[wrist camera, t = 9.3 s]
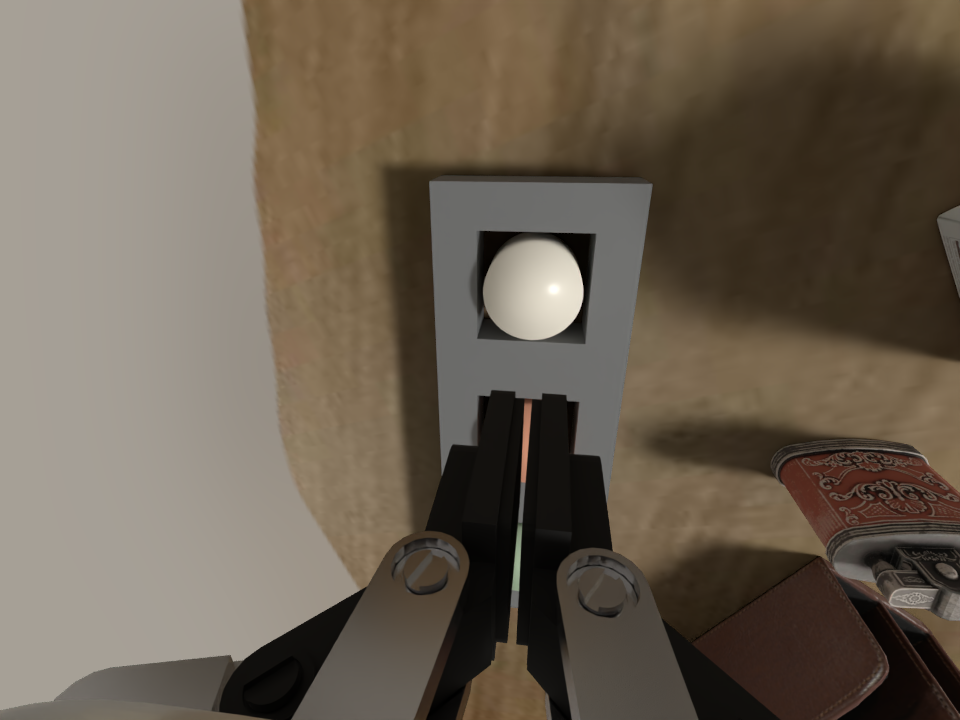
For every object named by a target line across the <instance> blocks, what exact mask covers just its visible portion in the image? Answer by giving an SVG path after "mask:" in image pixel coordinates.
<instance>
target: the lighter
mask: <svg viewBox="0 0 960 720" xmlns="http://www.w3.org/2000/svg"><path fill="white" fill-rule="evenodd" d="M771 470H772V472H773V474H774V476H775V477H776V479H777V480H778V482H779V483H780V484H781V485H782V486H784V487H786V488H787V490H788V491H789V493H790V494H791V496H792V497H793V499H794V500H795V502H796V503H797V505H798V506H799V508H800V509H801V511H802V513H803V514H804V516H805V517H806V519H807V520H808V522H809V523H810V525H811V526H812V528H813V529H814V531H815V532H816V534H817V535H818V537H819V538H820V540H821V542H822V543H823V545H824V546H825V548H826V555H827V557H828V559H829V561H830V562H831V564H832V566H833V567H834V569H835V570H836V572H838V573H839V574H840V575H841V576H844V577H847V578H850V579H856V580H862V581H868V582H874V583H876V585H877V587H878V588H879V590H880V591H881V592H882V594H883V595H884V597H885V598H886V599H887V601H888V602H889V604H890V605H891V606H894V607H901V608H924V609H926V610H928V611H931V612H932V613H934V614H935V615H937V616H939V617H940V618H943V619H946V620H950V621H960V493H959V492H958V491H957V490H955V489H954V488H953V487H952V486H951V485H950V484H949V483H948V482H947V481H945V480H944V479H943V478H942V477H941V476H940V475H939V474H938V473H936V472H935V471H934V470H933V469H932V468H931V467H930V466H929V463H928V460H927V459H926V458H925V457H924V456H923V455H922V454H921V453H920V452H918V451H917V450H916V449H915V448H914V447H913V446H910V445H907V444H901V443H894V442H887V441H880V440H861V439H840V440H823V441H814V442H807V443H800V444H794V445H789V446H786V447H783V448H782V449H780V450H778V451H777V452H776V454H775V455H774V456H773V458H772V460H771Z"/></svg>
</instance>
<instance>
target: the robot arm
mask: <svg viewBox="0 0 960 720" xmlns="http://www.w3.org/2000/svg"><path fill="white" fill-rule="evenodd" d="M524 400H525V399H524V398H516V392H515V391H501V390H491V393H490V398H489V402H488V407H487V411H486V416H485V420H484V424H483V429H482V433H481V438H480V442H479V446H470V445H457V444H453V445H452V446H451V449H450V451H449V455H448V458H447V461H446V464H445V468H444V471H443V474H442V477H441V481H440V484H439V487H438V490H437V494H436V497H435V500H434V504H433V507H432V510H431V513H430V517H429V520H428V523H427V526H426V530H425V531H424V532H417V533H414V534H411V535H409V536H406V537H404V538H402V539H401V540H399V541H398V542H397V543H395V544H394V545H393V546H392V547H391V548H390V550H389V551H388V552H387V553H386V555H385V557H384V558H383V560H382V562H381V564H380V565H379V567H378V569H377V571H376V572H375V574H374V576H373V578H372V579H371V581H370V583H369V585H368V586H367V587H365V588H364V589H362V590H360V591H358V592H357V593H355V594H353V595H351V596H350V597H348V598H346V599H344V600H343V601H341V602H339V603H338V604H336V605H334V606H332V607H331V608H329V609H327V610H325V611H324V612H322V613H320V614H318V615H317V616H315V617H313V618H311V619H310V620H308V621H306V622H304V623H303V624H301V625H299V626H298V627H296V628H294V629H292V630H291V631H289V632H287V633H286V634H284V635H282V636H280V637H278V638H277V639H275V640H273V641H271V642H270V643H268V644H266V645H264V646H263V647H261V648H260V649H258V650H257V651H255V652H254V653H253V654H251V655H250V656H249V657H247V658H246V659H245V660H244V661H234V662H233V661H232V658H231V655H227V656H218V657H207V658H199V659H188V660H179V661H169V662H161V663H150V664H141V665H132V666H122V667H113V668H108V669H104V670H100V671H97V672H93V673H91V674H89V675H88V676H86V677H84V678H82V679H80V680H78V681H76V682H75V683H73V684H72V685H71V686H70V687H69V688H67V689H66V690H65V691H64V692H62V693H61V694H60V695H59V696H58V697H56V699H55V700H54V701H51V702H42V703H34V704H29V705H24V706H19V707H14V708H9V709H5V710H0V720H462V719H463V715H464V712H465V708H466V705H467V701H468V698H469V695H470V691H471V683H472V679H473V678H474V677H476V676H477V675H478V674H479V673H481V672H482V671H483V670H485V669H486V668H487V667H488V666H490V665H491V660H493V661H494V658H495V649H496V642H503V643H507V640H508V629H509V618H510V607H511V596H512V585H513V574H514V562H515V551H516V540H517V529H518V518H519V507H520V493H521V470H522V448H523V425H524ZM516 644H518V645H526V646H528V655H527V670H528V671H529V672H530V674H531V675H532V676H533V677H534V678H535V680H536V681H537V682H538V683H539V684H540V686H541V687H542V688H543V689H544V690H545V706H546V714H547V720H780V719H779V718H778V717H777V716H776V715H775V714H773V713H772V712H771V711H770V710H769V709H768V708H766V707H765V706H764V705H763V704H762V703H760V702H759V701H758V700H757V699H756V698H755V697H753V696H752V695H751V694H750V693H749V692H748V691H746V690H745V689H744V688H743V687H742V686H741V685H739V684H738V683H737V682H736V681H735V680H733V679H732V678H731V677H730V676H729V675H728V674H726V673H725V672H724V671H723V670H722V669H721V668H719V667H718V666H717V665H716V664H715V663H713V662H712V661H711V660H710V659H709V658H708V657H706V656H705V655H704V654H703V653H702V652H701V651H699V650H698V649H697V648H696V647H695V646H693V645H692V644H691V643H690V642H689V641H688V640H686V639H685V638H684V637H683V636H682V635H681V634H679V633H678V632H677V631H676V630H675V629H673V628H672V627H671V626H670V625H669V624H668V623H666V622H665V621H664V620H663V619H662V618H661V616H660V614H659V611H658V608H657V606H656V603H655V600H654V597H653V595H652V592H651V589H650V586H649V584H648V582H647V580H646V578H645V577H644V575H643V573H642V571H641V570H640V569H639V568H638V567H637V566H636V565H635V564H634V563H633V562H632V561H630V560H629V559H627V558H625V557H624V556H622V555H621V554H619V553H616V552H613V549H612V542H611V534H610V526H609V518H608V510H607V503H606V495H605V487H604V479H603V471H602V464H601V458H600V456H594V455H581V454H569V445H568V419H567V395H562V394H547V393H542V400H541V399H532V408H531V420H530V433H529V445H528V458H527V470H526V483H525V495H524V508H523V521H522V537H521V558H520V579H519V600H518V621H517V642H516Z"/></svg>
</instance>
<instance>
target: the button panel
mask: <svg viewBox="0 0 960 720" xmlns="http://www.w3.org/2000/svg"><path fill="white" fill-rule="evenodd" d="M652 186H653V184H652V183H650V182H648V181H647V180H645V179H643V178H641V177H558V176H469V175H441V176H439V177H437V178H435V179H433V180H431V181H429V188H430V211H431V235H432V258H433V281H434V305H435V328H436V352H437V375H438V399H439V422H440V446H441V469H442V474H443V471H444V468H445V464H446V461H447V458H448V455H449V451H450V449H451V446H452V445H453V444H457V445H470V446H479V442H480V438H481V433H482V429H483V407H484V396H490V393H491V390H501V391H515V392H516V398H528V399H542V393H547V394H562V395H567V401H574V410H573V421H572V431H571V442H570V452H569V454H581V455H594V456H600V458H601V464H602V471H603V479H604V487H605V495H606V503H607V499H608V492H609V486H610V479H611V472H612V465H613V458H614V451H615V444H616V437H617V430H618V423H619V416H620V409H621V402H622V395H623V388H624V381H625V374H626V367H627V360H628V353H629V346H630V339H631V332H632V325H633V318H634V311H635V304H636V297H637V290H638V283H639V276H640V269H641V262H642V255H643V248H644V241H645V234H646V227H647V220H648V213H649V206H650V200H651V193H652ZM484 231H512V232H554V233H590V243H589V253H588V264H587V274H586V285H585V295H584V306H583V316H582V323H571V324H570V325H569V326H568V327H567V328H566V329H564V330H563V331H562V332H560V333H558V334H556V335H554V336H552V337H549V338H545V339H540V340H525V339H520V338H517V337H514V336H512V335H510V334H508V333H506V332H504V331H503V330H501V329H500V328H499V327H498V326H497V325H496V324H495V323H494V322H493V320H492V319H484V299H483V286H484ZM524 495H525V483H524V482H521V493H520V507H519V518H518V523H522V521H523V508H524ZM518 600H519V591H515V590H512V596H511V607H514V608H518Z"/></svg>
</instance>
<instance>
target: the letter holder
mask: <svg viewBox="0 0 960 720" xmlns="http://www.w3.org/2000/svg"><path fill="white" fill-rule="evenodd" d="M691 644H692V645H693V646H695V647H696V648H697V649H698V650H699V651H701V652H702V653H703V654H704V655H705V656H706V657H708V658H709V659H710V660H711V661H712V662H713V663H715V664H716V665H717V666H718V667H719V668H721V669H722V670H723V671H724V672H725V673H726V674H728V675H729V676H730V677H731V678H732V679H733V680H735V681H736V682H737V683H738V684H739V685H741V686H742V687H743V688H744V689H745V690H746V691H748V692H749V693H750V694H751V695H752V696H753V697H755V698H756V699H757V700H758V701H759V702H760V703H762V704H763V705H764V706H765V707H766V708H768V709H769V710H770V711H771V712H772V713H773V714H775V715H776V716H777V717H778V718H779V719H780V720H960V671H959V669H958V668H957V667H956V665H955V664H954V663H953V661H952V660H951V659H950V657H949V656H948V655H947V653H946V652H945V650H944V649H943V648H942V646H941V645H940V643H939V642H938V641H937V640H936V638H935V637H934V636H933V634H932V632H931V631H930V630H929V629H928V628H927V627H926V625H925V624H924V623H923V622H921V621H920V620H919V619H917V618H915V617H914V616H912V615H911V614H909V613H908V612H906V611H905V610H903V609H902V608H900V607H894V606H891V605H890V604H889V602H888V601H887V599H886V598H885V597H883V596H881V595H880V594H879V593H877V592H875V591H874V590H872V589H870V588H869V587H868V586H866V585H864V584H863V583H862V582H860V581H858V580H856V579H850V578H847V577H844V576H841V575H840V574H839V573H838V572H836V570H835V569H834V567H833V566H832V564H831V563H830V562H829V561H827V560H825V559H823V558H822V557H818V558H816V559H814V561H812V562H811V563H809V564H808V565H806V566H805V567H803V568H801V569H800V570H798V572H796V573H794V574H793V575H791V576H790V577H788V578H787V579H785V580H783V581H782V582H781V583H779V584H778V585H776V586H775V587H774V588H772V589H771V590H769V591H768V592H766V593H765V594H763V595H762V596H760V597H758V598H757V599H756V600H755V601H753V602H752V603H750V604H748V605H747V606H746V607H744V608H742V609H741V610H739V611H738V612H736V613H735V614H733V615H732V616H730V617H729V618H728V619H726V620H724V621H723V622H721V623H720V624H718V625H717V626H716V627H714V628H713V629H711V630H710V631H708V632H707V633H705V634H704V635H702V636H701V637H699V638H698V639H696V640H695V641H694V642H692V643H691Z"/></svg>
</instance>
